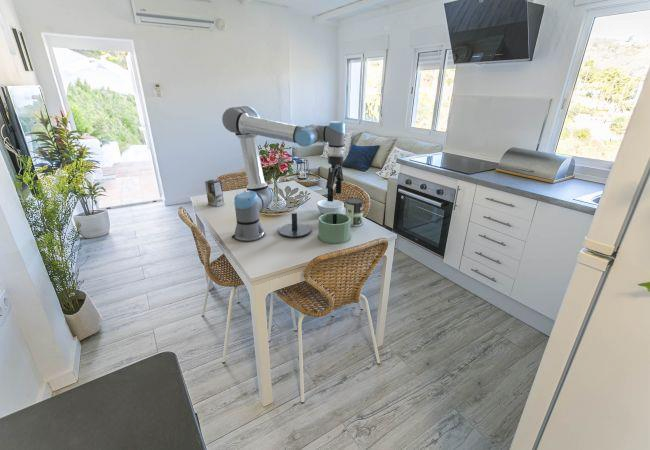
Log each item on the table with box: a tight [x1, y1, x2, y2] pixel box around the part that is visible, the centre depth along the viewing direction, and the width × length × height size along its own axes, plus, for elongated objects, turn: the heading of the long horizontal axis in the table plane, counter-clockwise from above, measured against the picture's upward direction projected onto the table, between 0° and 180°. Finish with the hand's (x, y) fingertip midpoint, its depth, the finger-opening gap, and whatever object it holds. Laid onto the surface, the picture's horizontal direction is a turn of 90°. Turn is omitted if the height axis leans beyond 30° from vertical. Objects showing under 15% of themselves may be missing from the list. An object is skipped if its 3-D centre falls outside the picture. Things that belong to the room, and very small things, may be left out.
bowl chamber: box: [318, 212, 351, 244], centre depth 167 cm, size 17×17×10 cm
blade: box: [332, 212, 337, 224], centre depth 166 cm, size 7×7×13 cm
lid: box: [278, 211, 312, 238], centre depth 172 cm, size 18×18×11 cm
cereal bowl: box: [316, 198, 345, 215], centre depth 198 cm, size 17×17×7 cm
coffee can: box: [344, 197, 364, 227], centre depth 183 cm, size 10×10×14 cm
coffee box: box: [204, 179, 225, 207], centre depth 211 cm, size 9×6×16 cm
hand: (334, 197), depth 160 cm, fingers open, 13 cm apart
